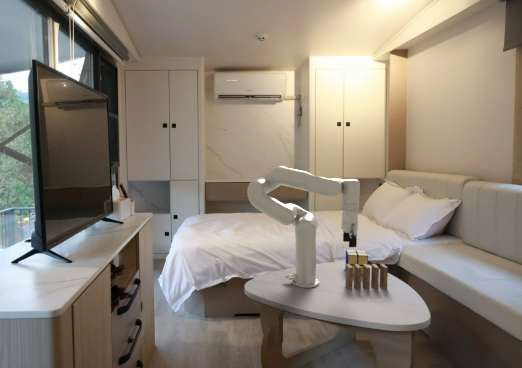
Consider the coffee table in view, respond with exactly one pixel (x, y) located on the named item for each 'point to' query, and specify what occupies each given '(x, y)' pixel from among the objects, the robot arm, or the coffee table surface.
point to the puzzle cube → (356, 258)
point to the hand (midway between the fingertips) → (349, 244)
